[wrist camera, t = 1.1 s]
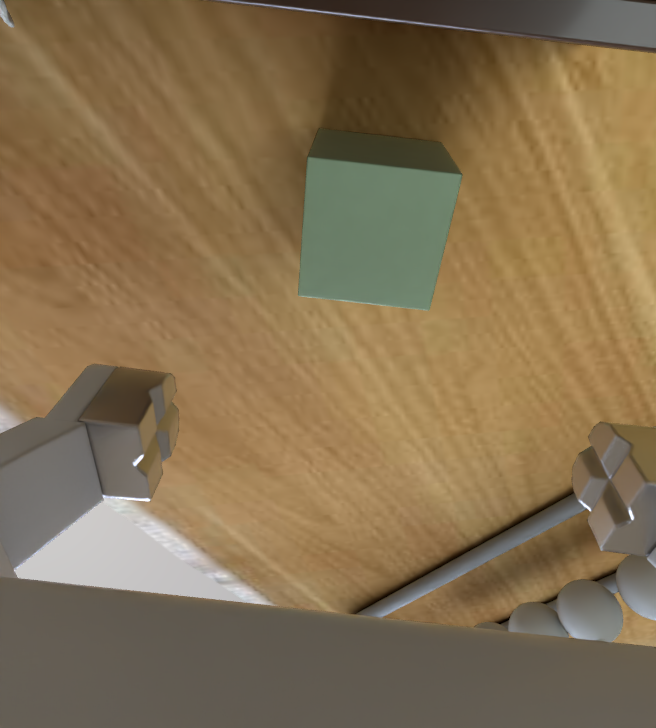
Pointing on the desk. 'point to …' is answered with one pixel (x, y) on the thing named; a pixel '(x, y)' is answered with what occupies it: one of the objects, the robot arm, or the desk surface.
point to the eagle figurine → (5, 14)
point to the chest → (503, 17)
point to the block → (375, 218)
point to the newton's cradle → (575, 601)
